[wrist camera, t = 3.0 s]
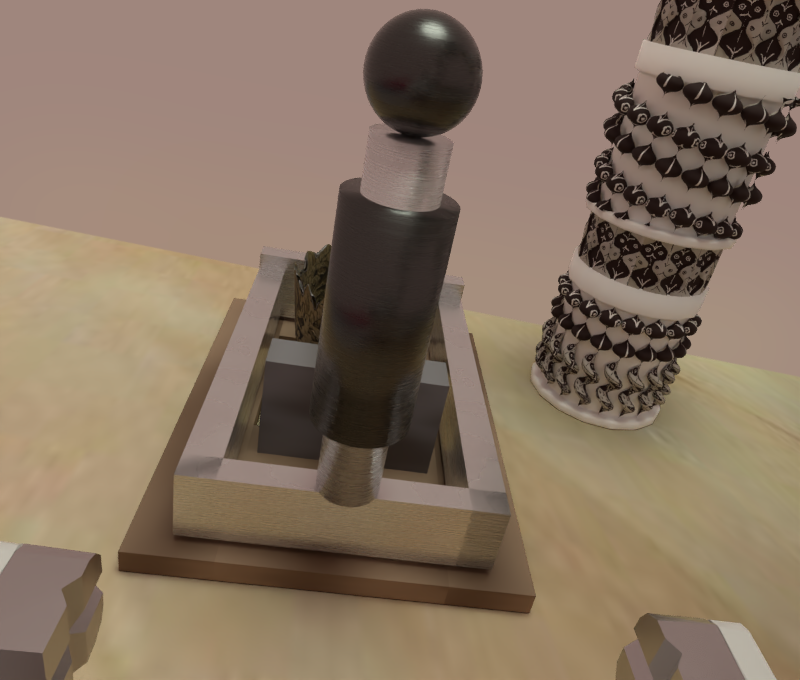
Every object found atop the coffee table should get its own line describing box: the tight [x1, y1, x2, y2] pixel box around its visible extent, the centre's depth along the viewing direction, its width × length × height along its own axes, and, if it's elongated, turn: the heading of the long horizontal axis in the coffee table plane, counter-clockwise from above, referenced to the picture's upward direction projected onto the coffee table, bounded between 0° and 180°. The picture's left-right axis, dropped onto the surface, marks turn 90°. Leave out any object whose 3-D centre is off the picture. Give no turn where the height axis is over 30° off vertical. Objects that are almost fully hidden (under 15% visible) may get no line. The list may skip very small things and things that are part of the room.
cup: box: [294, 244, 332, 344], centre depth 35 cm, size 8×7×8 cm
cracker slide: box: [173, 9, 511, 570], centre depth 29 cm, size 12×21×19 cm, turn 1°
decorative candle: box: [531, 0, 800, 430], centre depth 37 cm, size 9×9×25 cm
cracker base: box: [118, 298, 536, 613], centre depth 33 cm, size 16×22×6 cm
